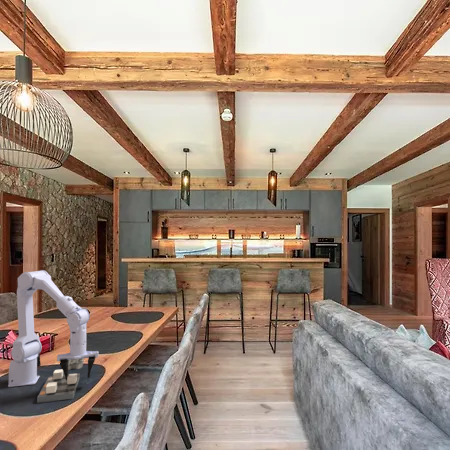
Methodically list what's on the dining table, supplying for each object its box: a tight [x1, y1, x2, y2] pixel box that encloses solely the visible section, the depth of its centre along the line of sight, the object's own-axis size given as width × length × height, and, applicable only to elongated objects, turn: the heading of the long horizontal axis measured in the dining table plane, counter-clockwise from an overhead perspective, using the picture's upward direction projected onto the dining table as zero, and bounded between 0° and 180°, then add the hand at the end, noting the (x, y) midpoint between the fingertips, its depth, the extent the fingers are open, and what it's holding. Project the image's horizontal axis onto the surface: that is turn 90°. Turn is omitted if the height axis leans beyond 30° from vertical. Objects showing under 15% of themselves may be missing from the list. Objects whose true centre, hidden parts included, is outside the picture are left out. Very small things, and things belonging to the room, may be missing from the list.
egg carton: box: [68, 358, 85, 371], centre depth 159 cm, size 11×8×4 cm
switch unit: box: [36, 373, 81, 404], centre depth 133 cm, size 12×19×2 cm, turn 16°
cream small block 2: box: [67, 373, 78, 384], centre depth 134 cm, size 3×4×2 cm
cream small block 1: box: [46, 382, 57, 394], centre depth 126 cm, size 3×4×2 cm
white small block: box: [52, 368, 64, 379], centre depth 139 cm, size 3×4×2 cm
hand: (78, 378), depth 135 cm, fingers open, 7 cm apart
